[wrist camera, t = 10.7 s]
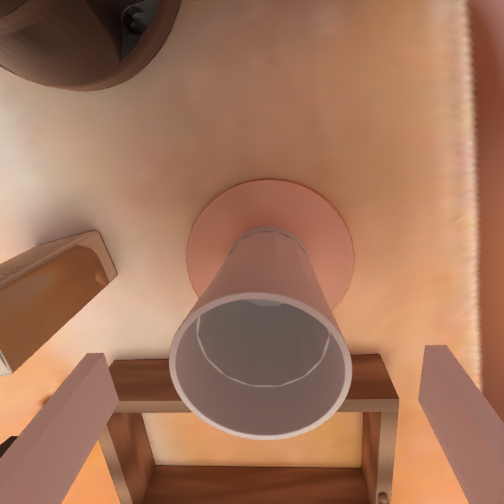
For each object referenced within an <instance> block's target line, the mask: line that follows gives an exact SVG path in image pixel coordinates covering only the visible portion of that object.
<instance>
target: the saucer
mask: <svg viewBox="0 0 504 504" xmlns="http://www.w3.org/2000/svg"><path fill="white" fill-rule="evenodd" d="M260 226H276V227H280V228H283V229H286V230H288V231H290V232H291V233H293V234H294V235H296V236H297V237H298V238H299V239H300V240H301V241H302V243H303V244H304V246H305V248H306V250H307V252H308V255H309V260H310V263H311V265H312V267H313V270H314V272H315V274H316V277H317V279H318V281H319V284H320V286H321V289H322V291H323V293H324V296H325V298H326V300H327V303H328V305H329V307H330V309H331V311H333V310H334V309H335V308H336V307H337V305H338V304H339V303H340V302H341V300H342V299H343V297H344V295H345V293H346V292H347V290H348V287H349V285H350V282H351V278H352V274H353V268H354V250H353V245H352V240H351V237H350V234H349V232H348V229H347V227H346V225H345V224H344V222H343V220H342V218H341V217H340V216H339V214H338V213H337V212H336V210H335V209H334V208H333V207H332V206H331V205H330V204H329V203H328V202H327V201H326V200H325V199H324V198H323V197H321V196H320V195H319V194H317V193H316V192H314V191H312V190H310V189H309V188H307V187H304V186H302V185H299V184H297V183H293V182H289V181H284V180H276V179H262V180H255V181H249V182H246V183H243V184H239V185H237V186H235V187H232V188H230V189H228V190H227V191H225V192H224V193H222V194H220V195H219V196H218V197H217V198H215V199H214V200H213V201H212V202H211V203H210V204H209V205H208V206H207V207H206V208H205V209H204V210H203V212H202V213H201V214H200V216H199V217H198V219H197V220H196V222H195V224H194V226H193V228H192V230H191V233H190V236H189V239H188V244H187V250H186V263H187V271H188V275H189V279H190V282H191V284H192V287H193V289H194V291H195V293H196V294H197V296H198V298H200V297H201V295H202V294H203V293H204V291H205V290H206V289H207V288H208V286H209V285H210V283H211V282H212V280H213V278H214V277H215V275H216V274H217V272H218V271H219V269H220V268H221V266H222V264H223V263H224V261H225V260H226V258H227V257H228V255H229V252H230V250H231V248H232V246H233V244H234V243H235V241H236V240H237V239H238V238H239V237H240V236H241V235H242V234H244V233H245V232H247V231H249V230H251V229H253V228H256V227H260Z"/></svg>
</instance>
